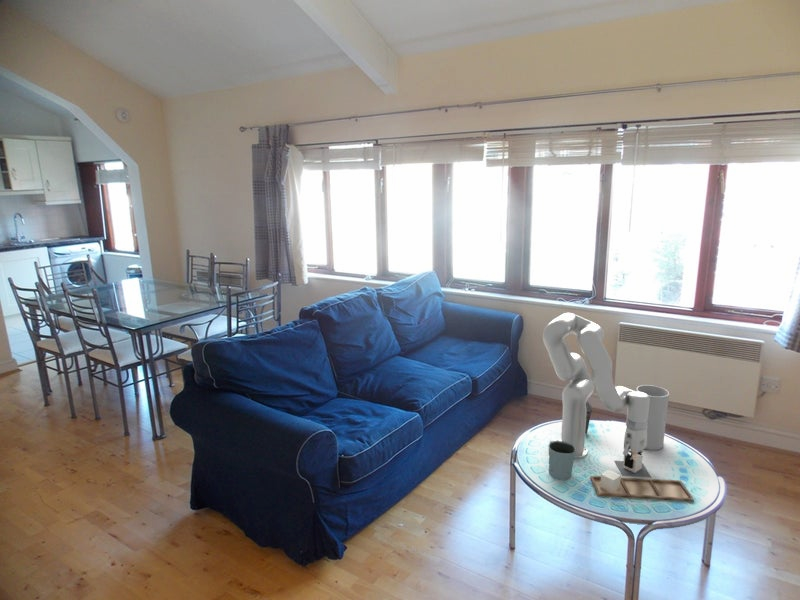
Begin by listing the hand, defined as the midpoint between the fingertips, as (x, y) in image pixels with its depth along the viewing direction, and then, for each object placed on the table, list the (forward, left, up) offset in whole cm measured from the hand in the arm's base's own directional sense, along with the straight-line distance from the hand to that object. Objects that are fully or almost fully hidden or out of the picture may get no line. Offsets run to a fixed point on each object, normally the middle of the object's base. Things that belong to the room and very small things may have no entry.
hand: (632, 463), depth 200 cm
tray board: (-1, -14, -3) cm, 14 cm away
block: (-12, -14, -2) cm, 19 cm away
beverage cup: (-13, +30, -3) cm, 33 cm away
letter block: (0, 0, -2) cm, 2 cm away
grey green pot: (-29, -6, -3) cm, 30 cm away
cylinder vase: (+13, +22, -3) cm, 26 cm away
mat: (0, 0, -3) cm, 3 cm away
